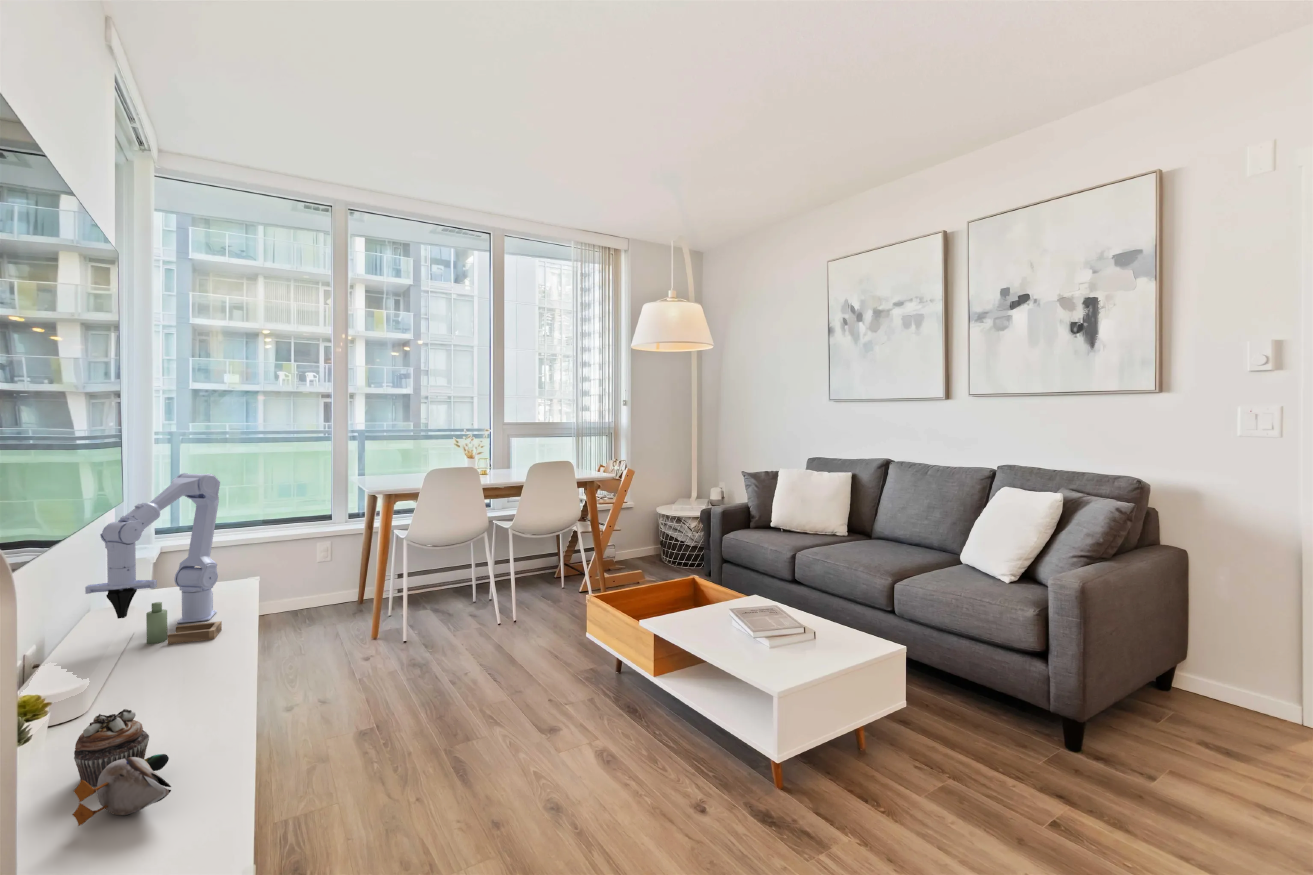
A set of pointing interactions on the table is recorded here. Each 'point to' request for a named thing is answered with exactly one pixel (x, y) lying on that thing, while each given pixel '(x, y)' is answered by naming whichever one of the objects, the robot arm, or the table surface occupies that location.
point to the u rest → (195, 632)
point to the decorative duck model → (125, 787)
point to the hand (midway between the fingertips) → (122, 617)
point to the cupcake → (108, 744)
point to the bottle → (156, 624)
